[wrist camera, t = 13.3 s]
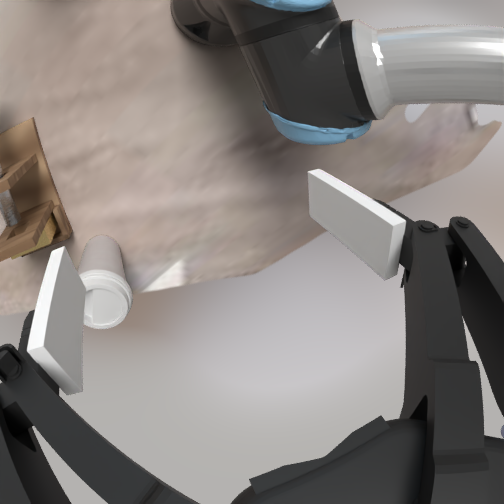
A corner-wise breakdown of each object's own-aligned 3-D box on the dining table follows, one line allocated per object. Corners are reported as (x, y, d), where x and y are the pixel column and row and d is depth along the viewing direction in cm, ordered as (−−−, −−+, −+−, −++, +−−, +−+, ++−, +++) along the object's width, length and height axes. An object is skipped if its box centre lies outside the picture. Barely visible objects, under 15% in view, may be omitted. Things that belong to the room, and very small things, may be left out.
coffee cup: (91, 217, 46) (82, 267, 34) (138, 242, 51) (146, 295, 40) (68, 261, 48) (57, 318, 36) (113, 282, 53) (116, 341, 42)
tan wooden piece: (17, 223, 40) (5, 246, 34) (53, 208, 42) (44, 229, 36) (23, 236, 41) (12, 259, 35) (59, 221, 43) (50, 243, 37)
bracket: (-17, 143, 32) (-58, 168, 21) (33, 117, 34) (-1, 132, 23) (25, 248, 43) (5, 299, 32) (72, 230, 46) (60, 278, 35)
